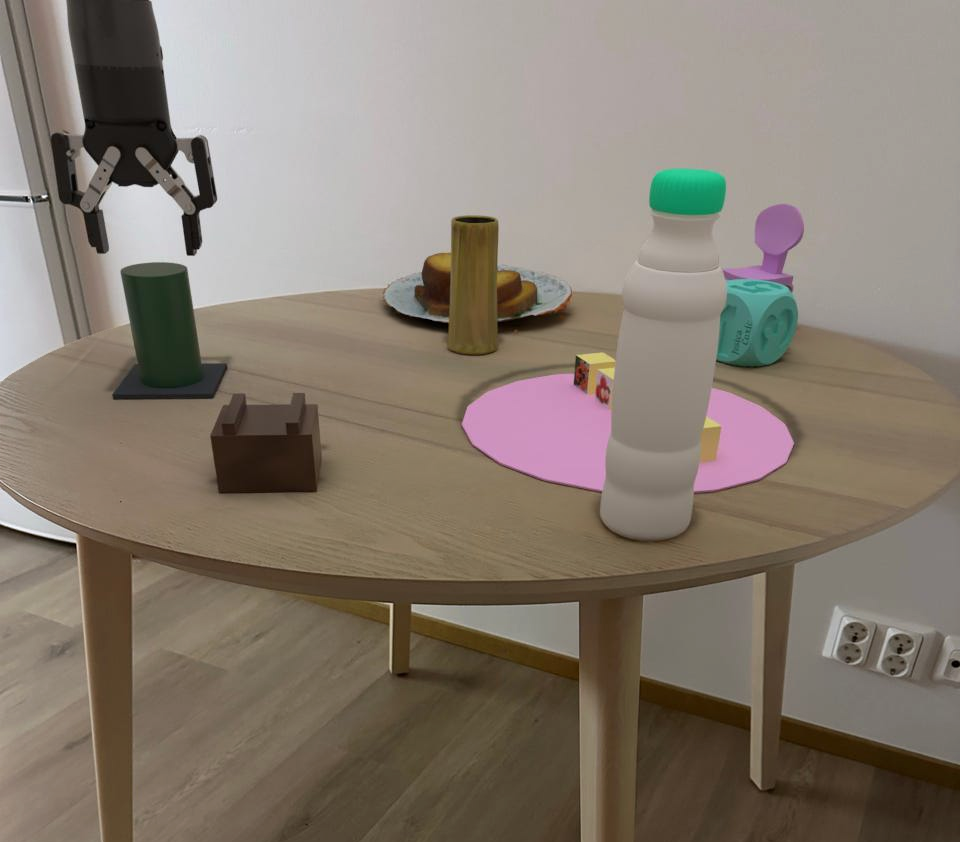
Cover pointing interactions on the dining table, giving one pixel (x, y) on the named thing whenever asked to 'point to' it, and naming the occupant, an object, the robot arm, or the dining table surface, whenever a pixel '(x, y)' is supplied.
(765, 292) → the decorative dice
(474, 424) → the platter
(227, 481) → the cradle
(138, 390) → the coaster
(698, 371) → the water bottle
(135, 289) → the green can
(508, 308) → the food on plate
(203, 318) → the dining table surface
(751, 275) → the toy chair
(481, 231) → the vase
